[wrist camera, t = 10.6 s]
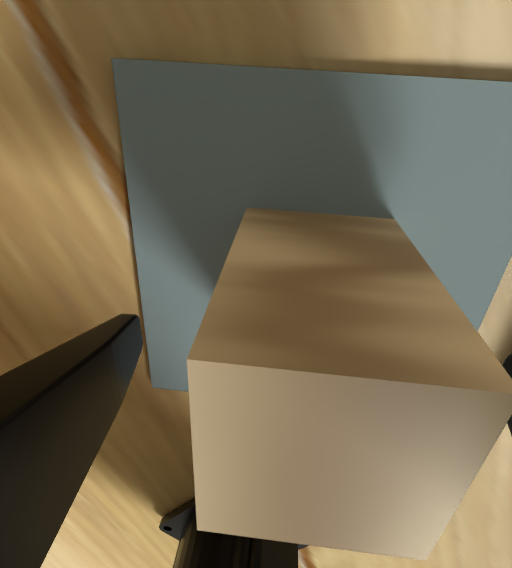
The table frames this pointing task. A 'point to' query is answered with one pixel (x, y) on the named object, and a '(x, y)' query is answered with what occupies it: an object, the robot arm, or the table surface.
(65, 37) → the table surface
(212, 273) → the mat
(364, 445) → the oak block
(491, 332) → the table surface
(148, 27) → the table surface
